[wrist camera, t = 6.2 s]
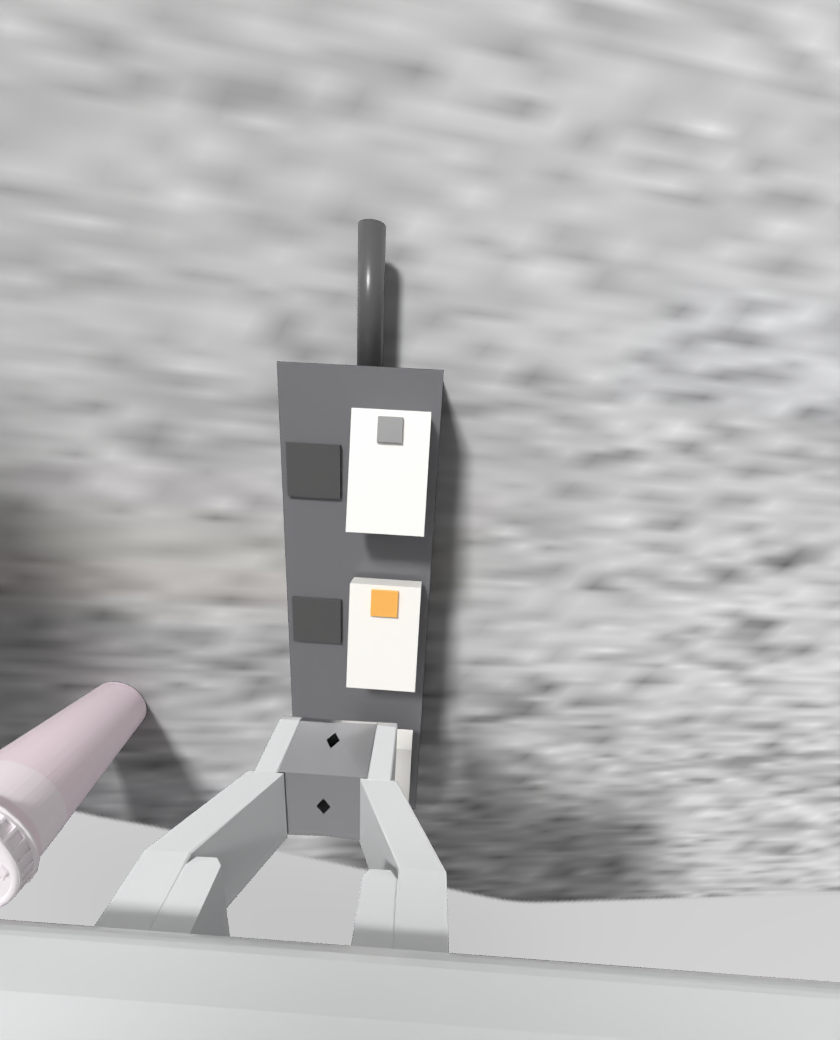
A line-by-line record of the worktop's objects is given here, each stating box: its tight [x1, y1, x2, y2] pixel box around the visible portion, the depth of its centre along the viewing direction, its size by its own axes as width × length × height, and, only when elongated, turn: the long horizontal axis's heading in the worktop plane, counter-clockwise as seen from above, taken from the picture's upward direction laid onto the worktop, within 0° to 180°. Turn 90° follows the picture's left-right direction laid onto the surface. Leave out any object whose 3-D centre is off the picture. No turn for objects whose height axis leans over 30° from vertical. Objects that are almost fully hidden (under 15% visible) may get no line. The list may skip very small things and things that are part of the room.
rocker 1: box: [346, 408, 431, 537], centre depth 16 cm, size 5×3×1 cm, turn 177°
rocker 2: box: [346, 577, 422, 692], centre depth 18 cm, size 5×3×1 cm, turn 177°
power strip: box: [277, 219, 444, 809], centre depth 20 cm, size 30×7×4 cm, turn 177°
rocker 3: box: [395, 729, 413, 802], centre depth 20 cm, size 5×3×1 cm, turn 176°
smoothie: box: [0, 682, 147, 907], centre depth 20 cm, size 6×6×14 cm
